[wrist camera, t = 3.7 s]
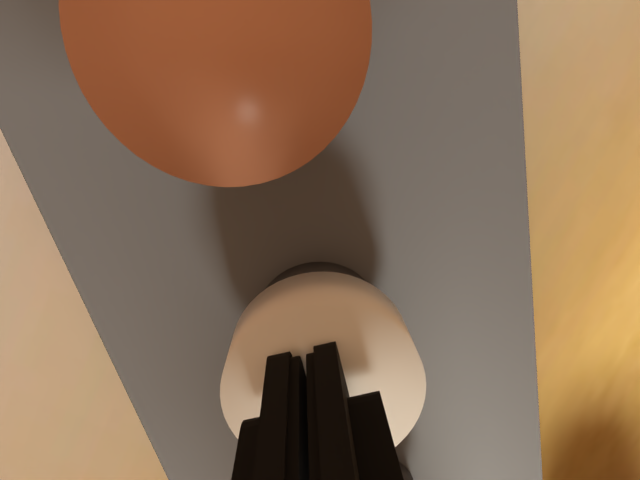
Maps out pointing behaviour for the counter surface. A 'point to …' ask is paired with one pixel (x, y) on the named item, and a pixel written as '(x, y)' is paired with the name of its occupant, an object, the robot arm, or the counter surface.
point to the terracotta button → (220, 79)
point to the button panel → (309, 235)
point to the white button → (319, 328)
